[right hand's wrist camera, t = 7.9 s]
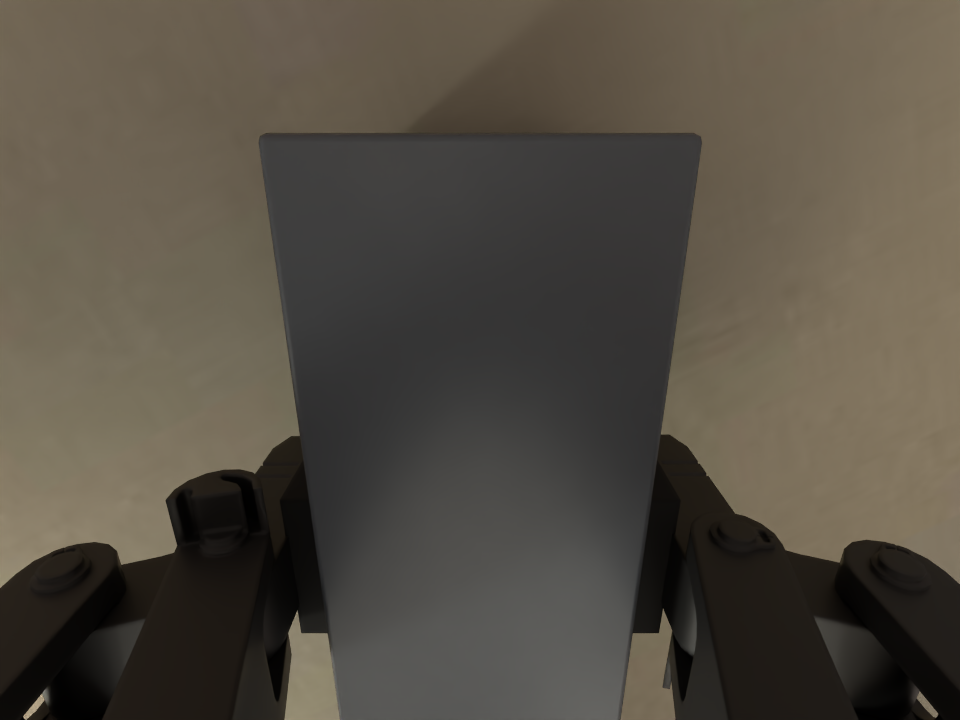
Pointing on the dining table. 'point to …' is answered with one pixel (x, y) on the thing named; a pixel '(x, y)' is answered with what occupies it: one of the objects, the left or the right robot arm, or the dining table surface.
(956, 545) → the dining table surface
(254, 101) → the dining table surface
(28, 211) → the dining table surface
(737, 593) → the right robot arm
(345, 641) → the beam
